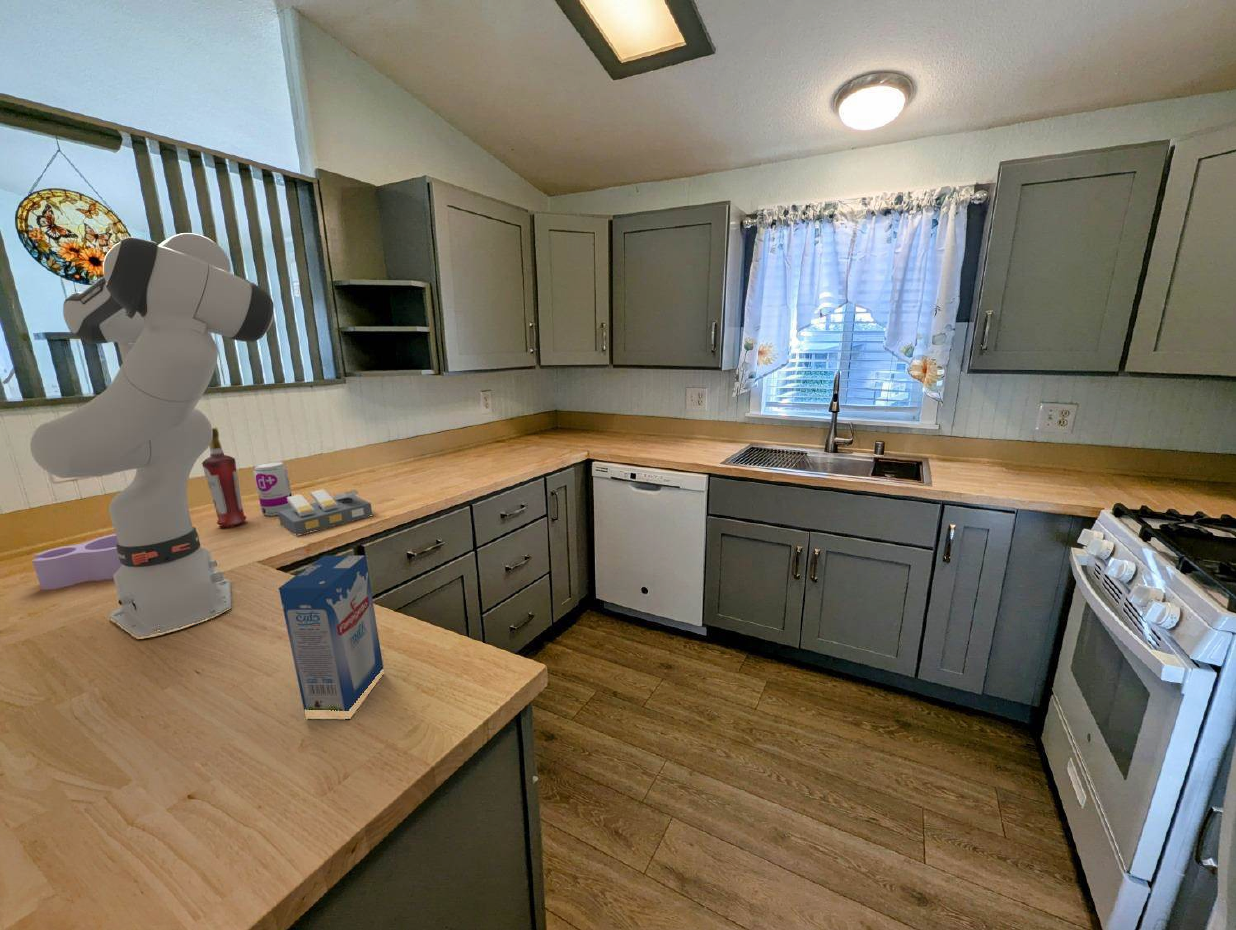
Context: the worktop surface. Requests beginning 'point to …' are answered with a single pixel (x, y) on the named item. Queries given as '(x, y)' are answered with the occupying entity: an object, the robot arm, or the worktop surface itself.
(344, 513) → the switch housing
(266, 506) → the supplement can
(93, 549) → the lavender double cup holder
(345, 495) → the rocker
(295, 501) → the rocker
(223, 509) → the liquor
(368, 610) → the milk carton
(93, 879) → the worktop surface
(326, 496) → the rocker
